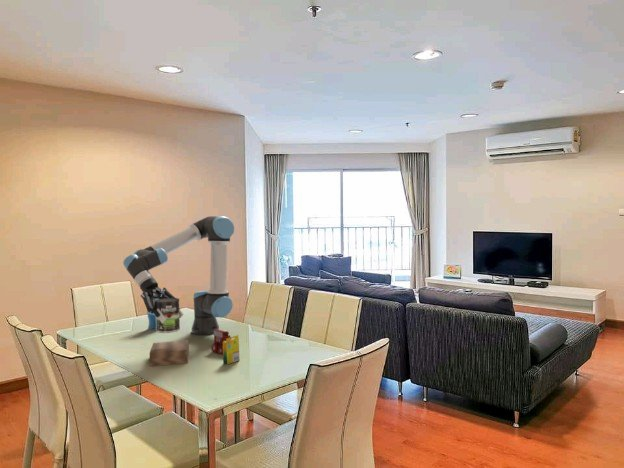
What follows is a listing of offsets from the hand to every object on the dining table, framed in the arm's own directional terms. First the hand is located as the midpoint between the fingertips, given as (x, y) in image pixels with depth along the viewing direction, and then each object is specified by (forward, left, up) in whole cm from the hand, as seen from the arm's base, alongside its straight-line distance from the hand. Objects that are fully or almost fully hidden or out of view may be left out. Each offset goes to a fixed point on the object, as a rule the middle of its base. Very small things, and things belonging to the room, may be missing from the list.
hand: (173, 318), depth 210 cm
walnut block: (+2, -2, -19) cm, 19 cm away
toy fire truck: (-22, -6, -19) cm, 30 cm away
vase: (+13, -63, -19) cm, 67 cm away
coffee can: (+2, -2, -6) cm, 6 cm away
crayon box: (-25, +10, -19) cm, 33 cm away
